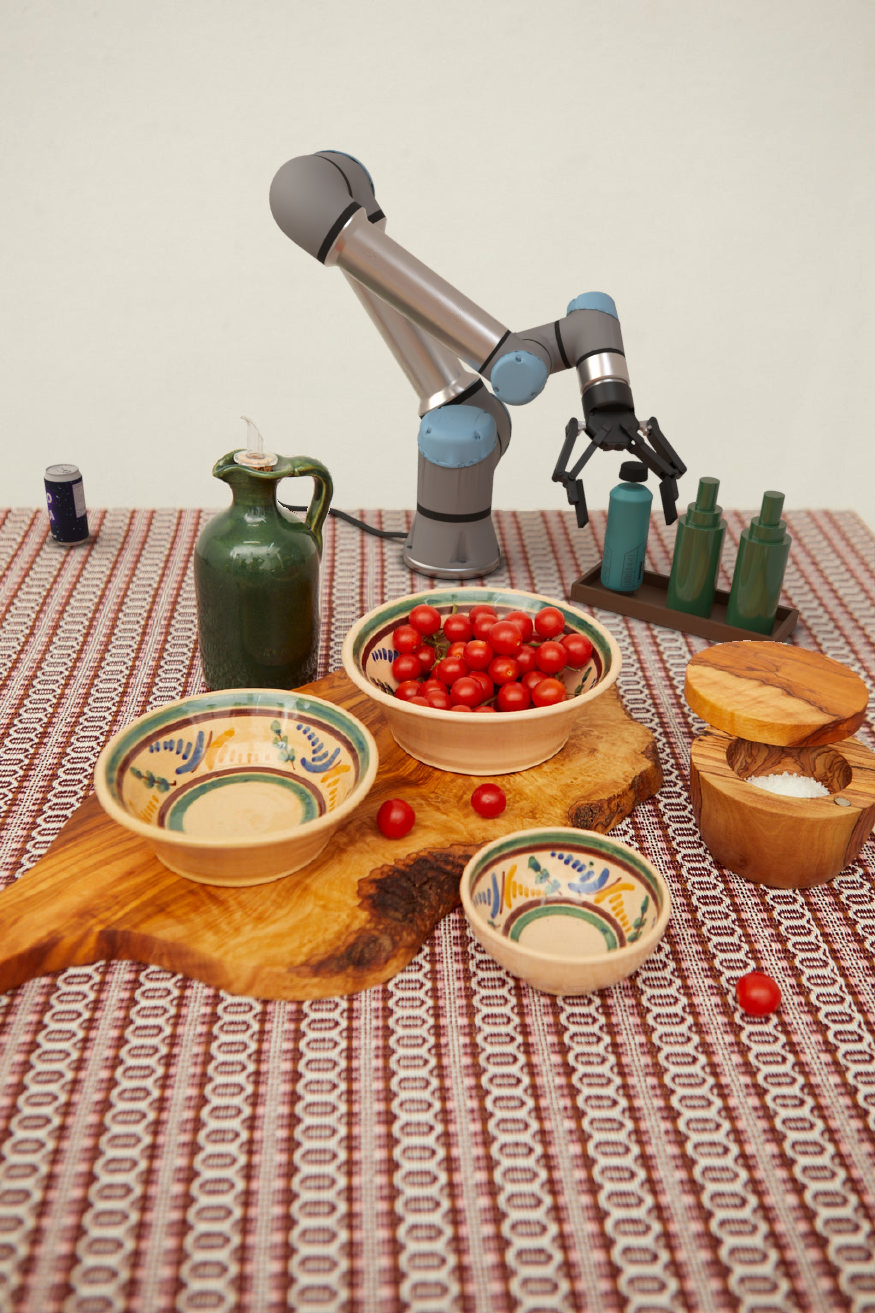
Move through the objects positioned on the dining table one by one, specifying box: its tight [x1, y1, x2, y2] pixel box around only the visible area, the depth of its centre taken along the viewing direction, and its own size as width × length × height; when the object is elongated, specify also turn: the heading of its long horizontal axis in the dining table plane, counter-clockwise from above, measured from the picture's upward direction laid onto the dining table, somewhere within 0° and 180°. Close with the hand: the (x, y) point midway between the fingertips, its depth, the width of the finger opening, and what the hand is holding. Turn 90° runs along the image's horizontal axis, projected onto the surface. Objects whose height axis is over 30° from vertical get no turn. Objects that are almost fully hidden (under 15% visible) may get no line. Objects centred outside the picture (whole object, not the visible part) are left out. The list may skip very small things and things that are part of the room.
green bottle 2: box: [724, 490, 793, 636], centre depth 151 cm, size 7×7×20 cm
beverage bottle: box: [600, 460, 654, 591], centre depth 160 cm, size 6×7×20 cm
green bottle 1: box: [665, 476, 729, 619], centre depth 155 cm, size 7×7×20 cm
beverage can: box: [43, 463, 90, 547], centre depth 172 cm, size 6×6×12 cm
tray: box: [569, 560, 800, 644], centre depth 160 cm, size 31×12×3 cm, turn 58°
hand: (628, 523), depth 158 cm, fingers open, 13 cm apart
